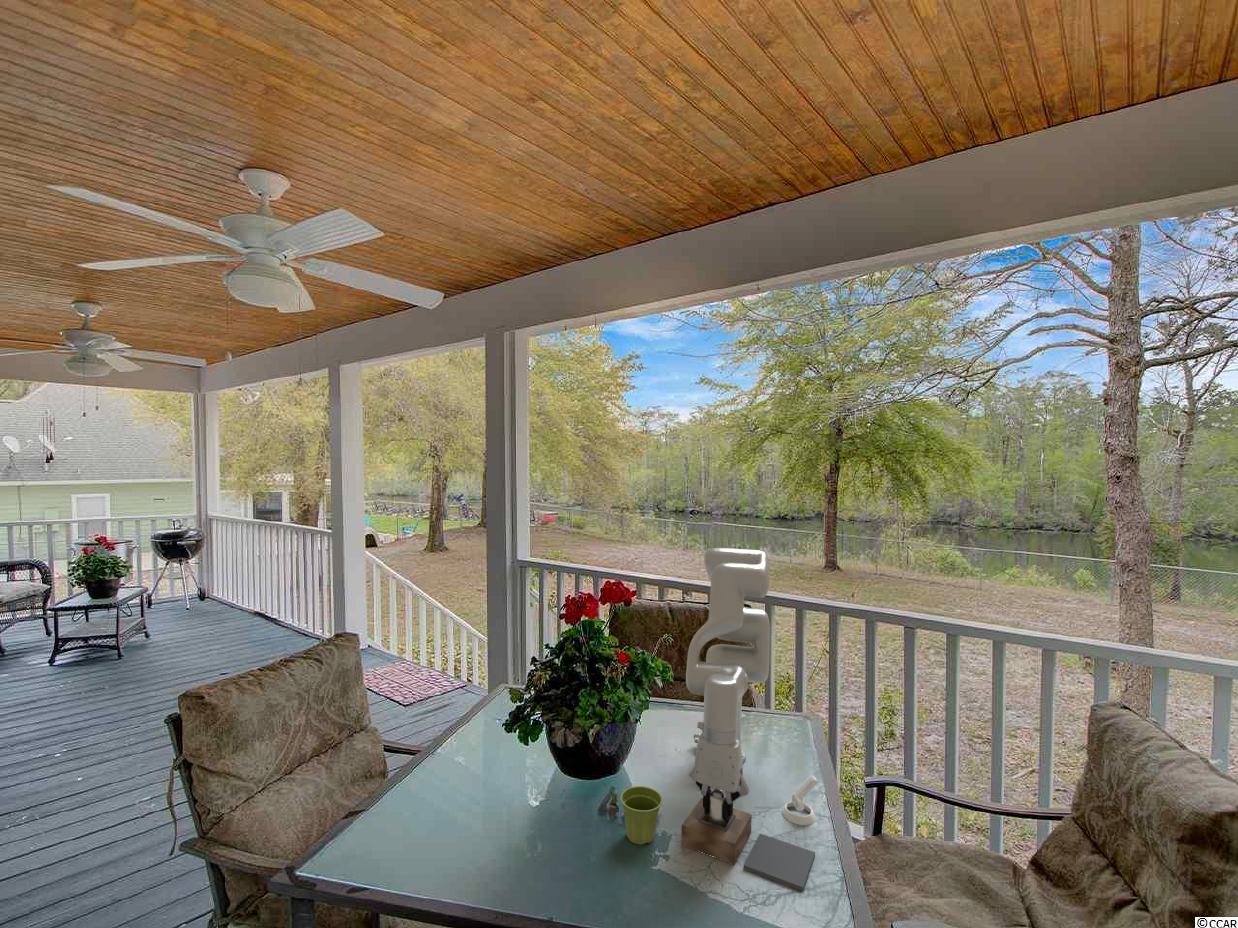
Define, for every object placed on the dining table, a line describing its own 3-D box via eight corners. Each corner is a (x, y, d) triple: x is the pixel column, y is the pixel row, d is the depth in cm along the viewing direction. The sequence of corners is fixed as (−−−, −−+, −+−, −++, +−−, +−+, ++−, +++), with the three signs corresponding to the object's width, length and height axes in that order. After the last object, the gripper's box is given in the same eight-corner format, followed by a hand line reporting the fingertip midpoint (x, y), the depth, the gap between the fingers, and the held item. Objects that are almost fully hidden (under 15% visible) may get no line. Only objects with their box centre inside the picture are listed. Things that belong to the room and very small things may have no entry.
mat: (743, 868, 121) (743, 864, 121) (759, 836, 132) (759, 833, 132) (803, 891, 116) (803, 887, 116) (814, 855, 126) (815, 852, 126)
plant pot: (666, 828, 134) (667, 790, 134) (654, 854, 125) (656, 814, 125) (627, 819, 137) (628, 782, 137) (613, 844, 128) (614, 804, 128)
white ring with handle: (841, 804, 136) (820, 791, 135) (808, 840, 138) (786, 827, 136) (827, 780, 144) (807, 767, 142) (795, 814, 145) (775, 801, 144)
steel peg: (705, 841, 130) (707, 790, 130) (711, 831, 133) (713, 782, 133) (722, 847, 128) (723, 795, 128) (727, 837, 131) (729, 787, 131)
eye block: (681, 845, 128) (681, 822, 128) (701, 816, 139) (701, 795, 139) (734, 865, 122) (735, 841, 122) (751, 833, 133) (751, 812, 133)
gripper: (678, 729, 131) (676, 811, 131) (752, 750, 123) (749, 836, 123) (691, 717, 138) (689, 794, 138) (761, 735, 129) (759, 817, 130)
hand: (717, 813), depth 130 cm, fingers closed on steel peg, 3 cm apart
